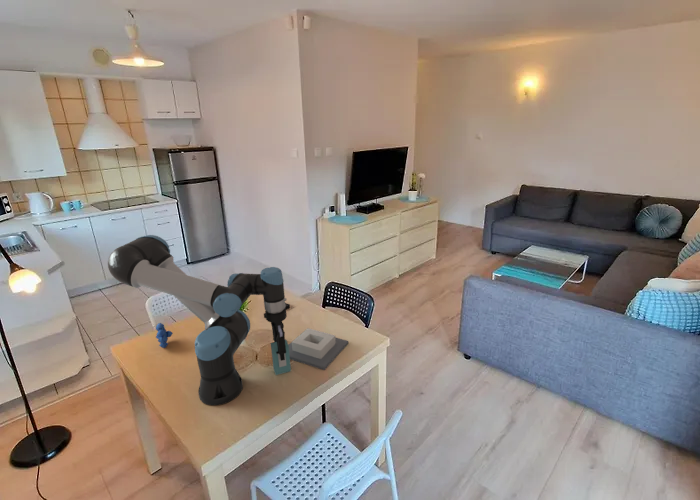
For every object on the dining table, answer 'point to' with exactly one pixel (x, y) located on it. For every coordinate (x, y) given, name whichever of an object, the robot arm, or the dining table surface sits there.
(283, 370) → the teal peg
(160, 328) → the grapes
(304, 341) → the socket block
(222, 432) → the dining table surface
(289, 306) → the multiport hub
